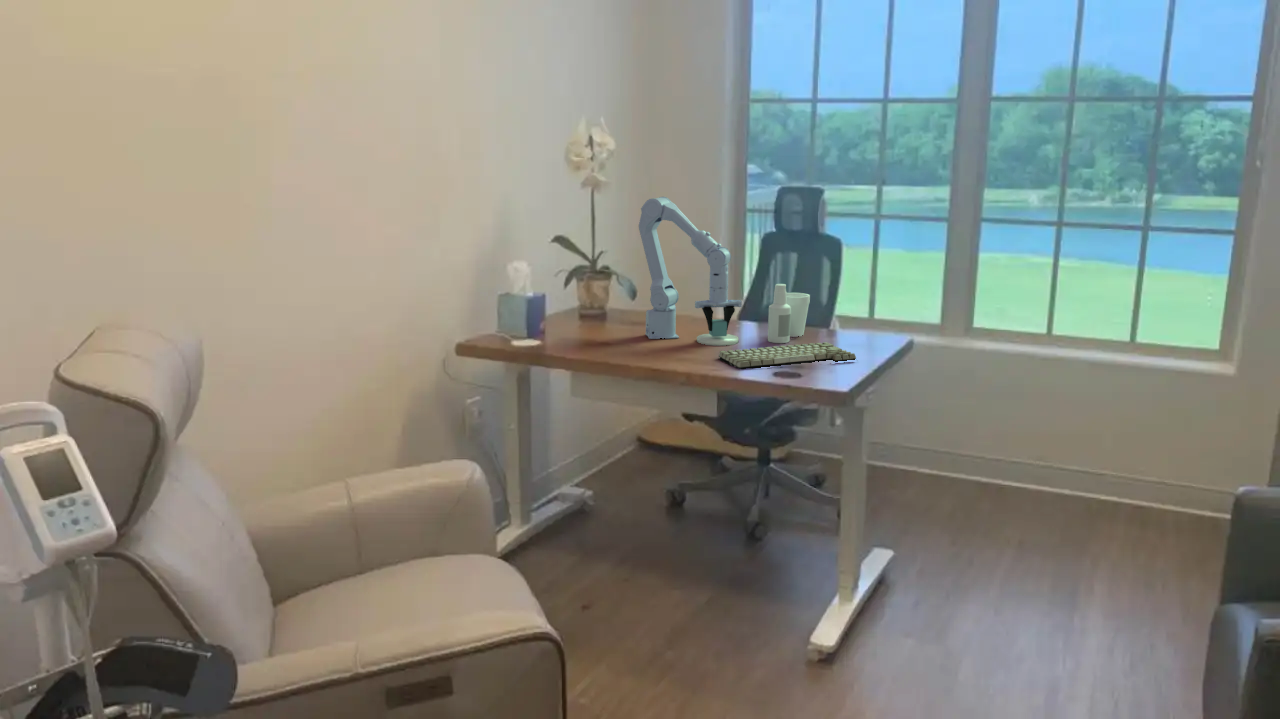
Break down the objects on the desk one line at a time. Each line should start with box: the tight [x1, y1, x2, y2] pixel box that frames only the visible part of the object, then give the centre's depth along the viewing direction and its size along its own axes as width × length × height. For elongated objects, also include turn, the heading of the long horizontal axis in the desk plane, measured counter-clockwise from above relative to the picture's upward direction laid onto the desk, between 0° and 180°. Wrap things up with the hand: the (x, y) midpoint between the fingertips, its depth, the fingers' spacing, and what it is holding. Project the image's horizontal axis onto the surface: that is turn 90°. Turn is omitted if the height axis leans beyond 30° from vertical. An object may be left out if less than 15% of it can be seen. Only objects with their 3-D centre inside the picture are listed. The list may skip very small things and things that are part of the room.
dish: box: [696, 333, 739, 347], centre depth 318 cm, size 13×13×1 cm
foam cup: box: [786, 292, 811, 338], centre depth 327 cm, size 10×9×13 cm
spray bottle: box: [767, 283, 791, 344], centre depth 317 cm, size 7×7×18 cm
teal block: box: [708, 318, 728, 337], centre depth 317 cm, size 4×4×4 cm
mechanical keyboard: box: [717, 341, 857, 370], centre depth 294 cm, size 38×19×3 cm, turn 111°
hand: (717, 330), depth 318 cm, fingers closed on teal block, 4 cm apart
